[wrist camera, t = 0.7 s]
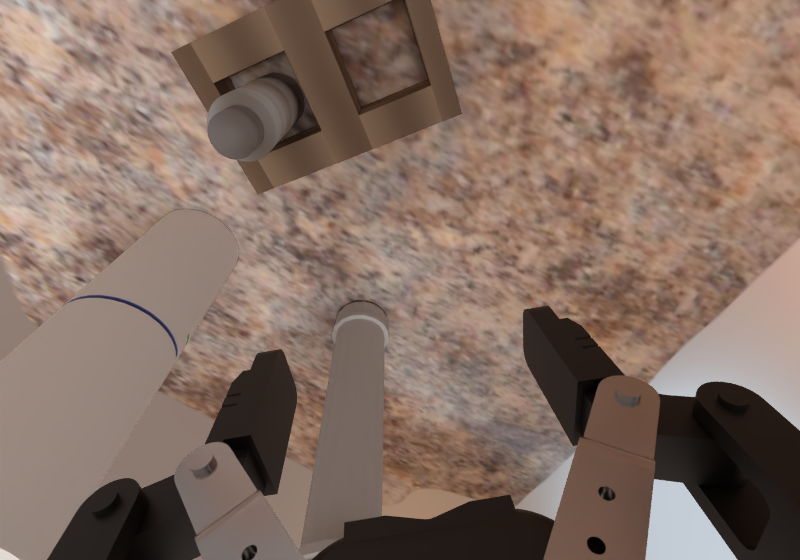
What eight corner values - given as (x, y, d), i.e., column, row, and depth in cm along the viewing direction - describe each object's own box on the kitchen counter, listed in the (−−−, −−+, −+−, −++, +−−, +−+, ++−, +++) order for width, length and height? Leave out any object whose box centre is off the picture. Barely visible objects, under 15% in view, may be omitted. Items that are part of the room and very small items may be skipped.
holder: (267, 180, 33) (222, 241, 24) (191, 48, 27) (96, 64, 19) (455, 105, 30) (483, 143, 21) (409, -58, 25) (421, -100, 16)
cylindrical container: (234, 213, 34) (-10, 522, 13) (242, 282, 38) (63, 604, 17) (147, 204, 34) (-252, 513, 13) (164, 275, 37) (-120, 600, 17)
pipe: (372, 347, 43) (348, 808, 18) (319, 325, 41) (209, 804, 16) (399, 312, 40) (413, 793, 15) (343, 287, 39) (257, 786, 14)
